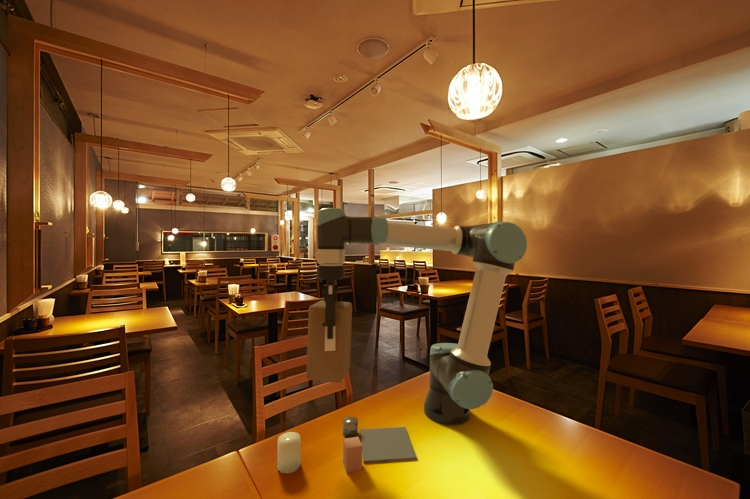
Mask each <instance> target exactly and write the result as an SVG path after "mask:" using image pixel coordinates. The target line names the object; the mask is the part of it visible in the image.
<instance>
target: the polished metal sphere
mask: <svg viewBox="0 0 750 499" xmlns="http://www.w3.org/2000/svg"><path fill="white" fill-rule="evenodd" d="M358 428H359V419H358V417H355V416H346V417H344V418H343V420H342V436H343V437H344V438H345V439H346V438H352V437H358V434H359V429H358Z"/></svg>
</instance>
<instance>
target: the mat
mask: <svg viewBox="0 0 750 499" xmlns="http://www.w3.org/2000/svg"><path fill="white" fill-rule="evenodd" d="M408 433H409V432H408V431H407V428H406V426H397V427H380V428H378V427H376V428H363V429H362V428H361V429H359V435H360V437H359V439H360V442H361V444H362V462H363V464H368V463H369V464H370V463H372V464H373V463H385V462H386V463H387V462H399V461H414V460H415V461H416V460H417V459H418V458H417V454H416V452H415V449H414V447H413V444H412V441H411V438H410V436H409V434H408Z"/></svg>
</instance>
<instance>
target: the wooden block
mask: <svg viewBox="0 0 750 499" xmlns="http://www.w3.org/2000/svg"><path fill="white" fill-rule="evenodd" d="M325 306H326V302H325V301H324V299H322V300H320V301H317V302H315V303H313V304H311V305H310V306H309V308H308V320H307V323H308V325H307V345H306V346H307V348H306V350H307V351H306V352H307V353H306V371H305V373H306V379H307V380H311V381H318V382H326V383H335V384H340V383H342V382H343V380H344V379H345V377H346V375H347V374H348V373H349V371H350V368H351V350H352V349H351V348H352V345H351V344H352V327H353V326H352V325H353V324H352V322H353V321H352V320H353V317H352V316H353V304H352V302H349V301H338V300H337V301H336V302H335V322H336V325H335V351H325V326H322V323H325ZM328 321H331V320H328Z"/></svg>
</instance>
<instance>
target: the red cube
mask: <svg viewBox="0 0 750 499" xmlns="http://www.w3.org/2000/svg"><path fill="white" fill-rule="evenodd" d="M342 440H343V441H342V443H343V444H342V446H343V448H342V463H343V466H344V470H345V473H349V472H355V471H360V470H363V453H362V444H361V438H360V437H359V436H356V437H352V438H346V437H345V438H343V439H342Z"/></svg>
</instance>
